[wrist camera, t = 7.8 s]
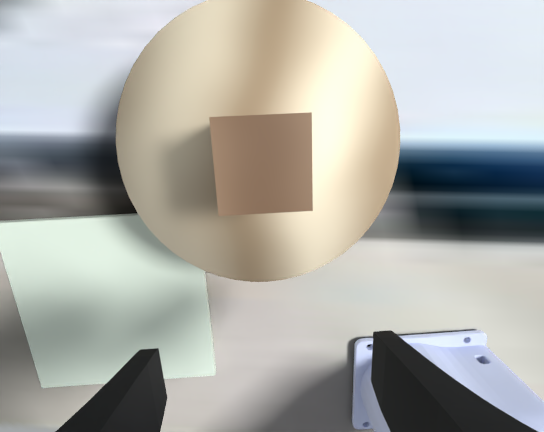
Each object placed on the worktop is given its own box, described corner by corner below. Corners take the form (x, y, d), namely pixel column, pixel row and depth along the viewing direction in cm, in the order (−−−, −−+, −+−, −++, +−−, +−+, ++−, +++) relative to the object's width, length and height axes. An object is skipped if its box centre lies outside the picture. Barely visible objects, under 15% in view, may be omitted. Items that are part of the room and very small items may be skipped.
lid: (399, -4, 13) (482, -78, 8) (383, 264, 16) (436, 323, 12) (101, 5, 13) (7, -67, 8) (147, 279, 16) (101, 346, 11)
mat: (198, 209, 20) (196, 212, 19) (216, 370, 23) (215, 375, 23) (-2, 221, 19) (-9, 223, 19) (46, 382, 23) (41, 388, 22)
